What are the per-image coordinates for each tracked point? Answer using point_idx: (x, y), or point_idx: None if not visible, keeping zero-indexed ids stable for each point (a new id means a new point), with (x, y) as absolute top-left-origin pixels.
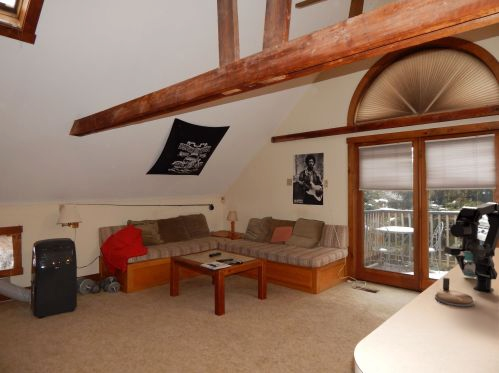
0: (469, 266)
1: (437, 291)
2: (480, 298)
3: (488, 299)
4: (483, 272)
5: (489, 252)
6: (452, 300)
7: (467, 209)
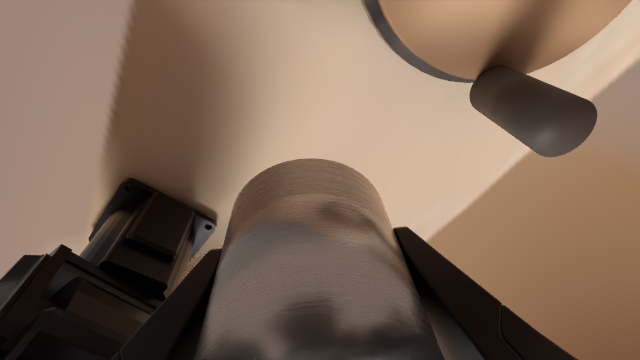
0: (351, 246)
1: (611, 18)
2: (234, 43)
3: (175, 28)
4: (105, 299)
5: None
6: None
7: None
